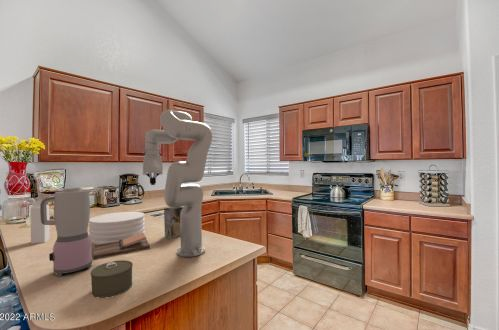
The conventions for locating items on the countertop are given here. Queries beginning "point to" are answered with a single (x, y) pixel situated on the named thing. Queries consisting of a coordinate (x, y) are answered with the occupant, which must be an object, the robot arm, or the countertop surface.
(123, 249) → the walnut board
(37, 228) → the milk
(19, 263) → the countertop surface
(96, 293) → the can
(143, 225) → the plate stack
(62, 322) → the countertop surface
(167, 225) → the coffee box
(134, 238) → the tile
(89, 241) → the blender
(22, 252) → the countertop surface
